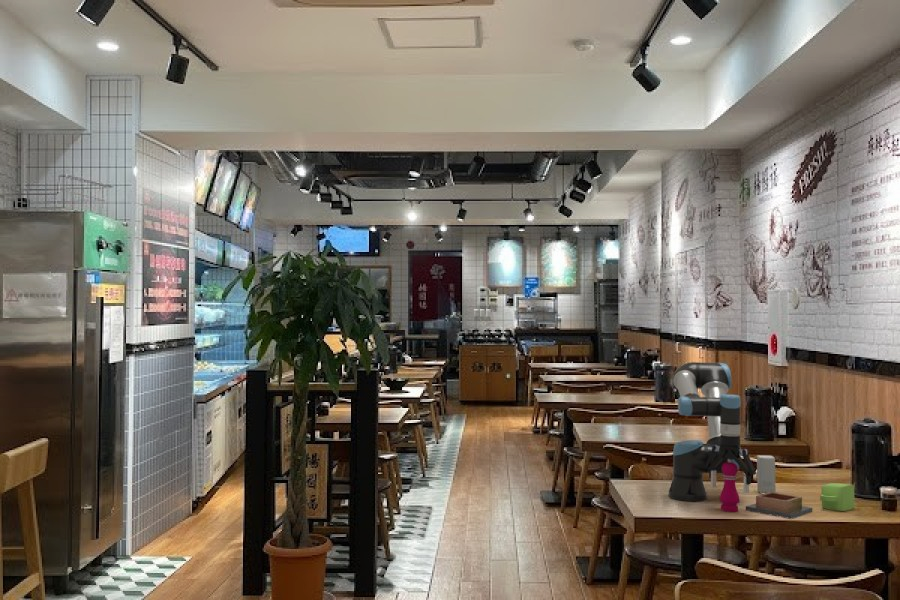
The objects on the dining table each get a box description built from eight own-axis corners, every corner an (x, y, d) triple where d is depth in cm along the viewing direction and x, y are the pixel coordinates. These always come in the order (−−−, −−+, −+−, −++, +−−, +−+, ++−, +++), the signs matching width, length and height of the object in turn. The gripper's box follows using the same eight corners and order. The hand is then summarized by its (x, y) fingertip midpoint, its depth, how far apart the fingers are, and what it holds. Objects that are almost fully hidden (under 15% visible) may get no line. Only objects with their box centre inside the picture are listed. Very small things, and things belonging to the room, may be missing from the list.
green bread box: (834, 504, 342) (833, 480, 343) (859, 507, 335) (858, 483, 336) (814, 509, 330) (813, 484, 331) (839, 512, 323) (839, 487, 323)
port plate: (745, 510, 326) (745, 495, 326) (767, 503, 338) (767, 490, 338) (791, 518, 312) (791, 503, 313) (812, 511, 325) (812, 497, 325)
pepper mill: (733, 508, 329) (734, 456, 330) (742, 512, 322) (743, 459, 323) (716, 508, 328) (716, 456, 329) (725, 512, 321) (725, 459, 322)
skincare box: (775, 495, 356) (776, 458, 356) (759, 494, 357) (759, 457, 357) (772, 491, 364) (772, 455, 364) (756, 490, 365) (756, 454, 365)
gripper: (695, 432, 332) (695, 486, 332) (756, 439, 314) (755, 496, 314) (705, 430, 337) (705, 483, 337) (765, 437, 319) (765, 493, 319)
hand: (729, 490), depth 325 cm, fingers open, 13 cm apart
